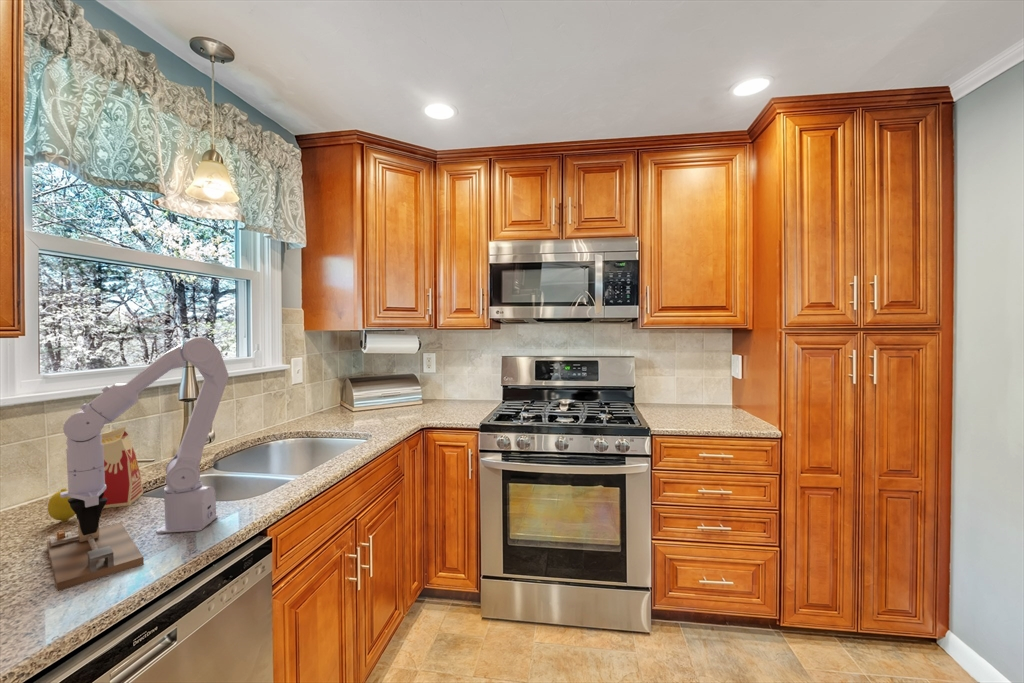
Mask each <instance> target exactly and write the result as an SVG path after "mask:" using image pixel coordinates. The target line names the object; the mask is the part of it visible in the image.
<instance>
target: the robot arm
mask: <svg viewBox="0 0 1024 683" xmlns="http://www.w3.org/2000/svg"><path fill="white" fill-rule="evenodd" d="M186 362H188V363H189V364H190V365H192V366H194V367H195V368H197V371H198V372H199V373H200V375H201V376H202V378H203V381H202V384H201V388H200V390H199V392H198V396H197V398H196V401H195V403H194V407H193V409H192V412H191V416H190V418H189V421H188V423H187V426H186V429H185V431H184V434H183V437H182V439H181V442H180V444H179V446H178V448H177V451H176V453H175V455H174V456H173V458H171V459H170V460H169V462H168V463H167V465H166V467H165V473H166V476H165V483H166V486H165V487H164V488H163V497H164V498H163V499H164V500H163V502H164V525H163V526H161V527H159V528H158V529H157V530H155V533H156V534H161V533H162V534H163V533H184V532H199V531H202V530H203V529H204V528H206V527H207V526H208V525H210V524H211V523H212V522H213V521H215V520H216V519H217V518H218V517H219V514H217V500H216V490H215V488H214V487H213V486H209V485H208V486H207V485H204V484H203V481H202V480H200V478H201V471H200V464H201V461H202V456H203V451H204V448H205V445H206V442H207V439H208V436H209V434H210V431H211V428H212V425H213V422H214V421H215V420H214V419H215V417H216V414H217V410H218V408H219V406H220V403H221V400H222V398H223V394H224V392H225V389H226V385H227V383H228V380H229V372H228V370H227V368H226V364H225V361H224V359H223V355H222V353H221V350H220V349H219V348H218V346H216V345H215V343H214V342H213V341H211V340H210V339H208V338H206V337H202V336H193V337H191V338H188V339H187V340H185V342H184V343H183V345H182V344H179V345H177V346H175V347H173V348H172V349H170V350H168V351H166V352H165V353H163V354H162V355H161V356H159V357H158V358H157V359H155V361H153V362H151V363H150V365H148V366H147V367H146V368H144V369H143V370H142V371H141V372H139V373H138V374H137V375H136V376H134V377H132V378H131V380H129V381H128V382H127V383H125V382H124V383H114V384H113V385H111V386H110V385H106V386H105V387H104V388H102V389H101V392H102V393H101V394H99V395H98V396H96V397H95V398H94V399H93V400H91V401H90V402H89V403H87V404H86V403H83V404H82V405H80V406H79V409H81V410H79V411H76V412H74V413H73V414H72V415H70V417H69V418H67V420H66V421H65V422H64V424H63V427H62V428H63V434H64V436H66V446H67V447H66V450H65V452H66V453H65V454H66V471H67V474H66V475H67V490H68V491H66V492H62V493H60V496H61V498H64V497H71V498H70V499H68V502H69V503H70V507H71V509H72V510H73V511H74V512H75V516H76V519H77V521H78V520H79V524H80V528H81V531H82V534H83V535H88V534H92V533H96V532H97V529H98V525H99V526H100V519H101V515H102V512H103V510H104V509H105V508H104V506H105V504H106V502H107V498H102V497H103V496H104V491H105V490H106V484H105V472H104V450H103V443H102V435H101V433H102V430H103V428H104V426H105V425H106V424H111V423H112V422H114V421H115V420H116V419H118V418H119V417H120V416H122V415H123V414H124V413H125V412H126V411H128V410H129V409H131V408H132V407H133V406H135V405H136V404H137V403H138V402H139V393H140V392H142V391H144V390H145V389H147V388H148V387H149V386H151V385H152V384H153V383H154V382H156V381H157V380H158V379H160V378H162V377H163V376H165V375H166V374H168V372H170V371H171V370H173V369H180V368H184V367H187V363H186Z"/></svg>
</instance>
